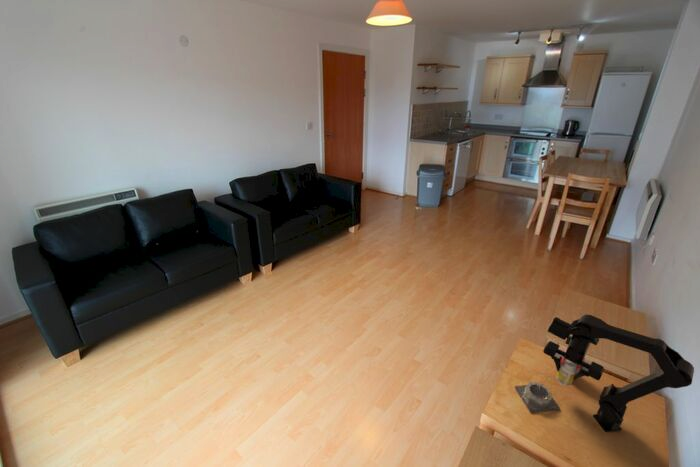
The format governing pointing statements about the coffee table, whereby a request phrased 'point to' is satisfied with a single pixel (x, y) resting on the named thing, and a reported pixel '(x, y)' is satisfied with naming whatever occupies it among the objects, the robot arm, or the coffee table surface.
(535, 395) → the collar
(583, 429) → the coffee table surface
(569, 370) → the supplement bottle
